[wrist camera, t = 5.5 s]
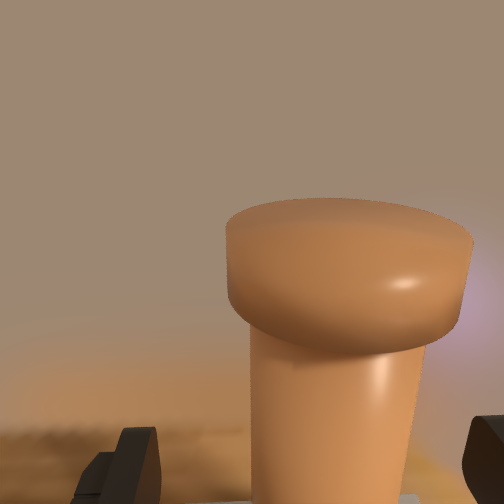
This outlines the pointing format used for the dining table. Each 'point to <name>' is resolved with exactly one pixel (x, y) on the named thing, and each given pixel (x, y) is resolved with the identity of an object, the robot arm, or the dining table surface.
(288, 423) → the wooden peg
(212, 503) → the grey stand base
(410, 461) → the dining table surface
